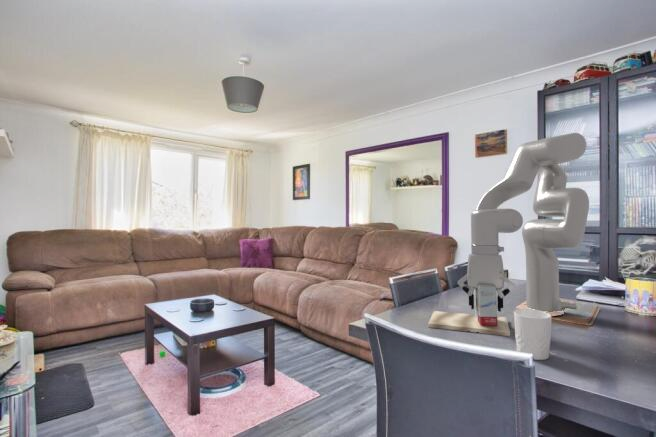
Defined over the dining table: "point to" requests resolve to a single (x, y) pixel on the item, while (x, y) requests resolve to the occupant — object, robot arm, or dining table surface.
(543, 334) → the white cup
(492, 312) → the ink box
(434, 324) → the birch board
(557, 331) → the dining table surface
